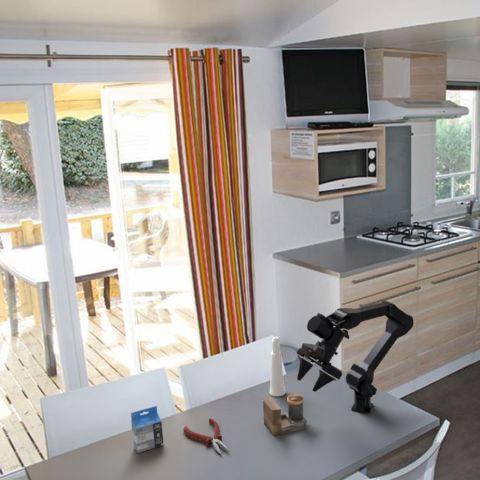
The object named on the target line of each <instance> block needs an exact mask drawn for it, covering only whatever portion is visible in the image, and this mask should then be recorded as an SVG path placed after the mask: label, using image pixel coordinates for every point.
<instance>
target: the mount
mask: <svg viewBox="0 0 480 480" xmlns="http://www.w3.org/2000/svg"><path fill="white" fill-rule="evenodd" d="M262 401H263V402H262V407H263V408H262V409H263V425H264V426H265V427H266V429H267V431H269V433H270V434H271V435H272V436H273V437H275V436H279V435H283V434H287V433H292V432H295V431H301V430H303V429H306V425H305V423H304V422H299V423H295V424H291V423H290V422H289V421H288V420H287V418H286V417H285V415H286V414H288V412H285V413H282V408H281V407H280V406H279V404H278V403H276V401H275V400H274V399H273V398H272V397H269V398H265V399H264V398H263V399H262Z"/></svg>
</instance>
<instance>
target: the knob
mask: <svg viewBox="0 0 480 480" xmlns="http://www.w3.org/2000/svg"><path fill="white" fill-rule="evenodd" d="M286 400H287V401H286V402H287V411H288V412H287V413H288V414H286V415H285V417H286V418H287V420H288V421H289V422H290V423H291V424H295V423H299V422H304V424H307V422H308V421H307V419H306V418H305V416H304V396H303V395H301V394H296V393H294V394H290V395H288V396H287V399H286Z"/></svg>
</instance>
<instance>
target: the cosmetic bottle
mask: <svg viewBox="0 0 480 480" xmlns="http://www.w3.org/2000/svg"><path fill="white" fill-rule="evenodd" d="M280 346H281V343H280V337H279V336H273V337H272V339H271V349H272V350H271V353H270V354H271V355H270V385H269V393H268V394H269V395H270V396H273V397H282V396H284V395H285V394H286V393H287V392H286V388H285V382H284V371H283V361H282V359H283V358H282V352H281V347H280Z"/></svg>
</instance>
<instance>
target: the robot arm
mask: <svg viewBox="0 0 480 480" xmlns="http://www.w3.org/2000/svg"><path fill="white" fill-rule="evenodd" d="M381 317H386V318H387V320H386V322H385V330H384V331H383V333H382V334H381V336H380V337H379V338H378V340H377V341H376V342H375V344H374V345H373V347H372V348H371V350H370V351H369V353H368V354H367V355H366V357H364V359H363V361H362V362H360V363H359V364H357V363H353V364H352V365H351V367H350V368H349V369H348V370H347V371H346V373H347V374H346V376H345V382H346V385H347V386H348V388H349V389H351V390H352V391H354V393H353V400H354V401H353V404H352V406H351V411H354V412H360V413H364V414H370V413H371V411H372V409H373V407H374V406H375V405H374V403H372V398H373V397H374V396H375V395H377V392H378V391H377V390H378V389H377V387H376V386H374V385H373V383H374V377H375V376H374V375H375V371H376V370H377V368H378V367H379V365H380V364H381V362H382V361H383V360H384V358H385V357H386V355H387V354H388V353H389V351H390V350H391V349H392V347H393V345H394V344H395V343H396V341H397V340H398V339H400V338H402V337H403V336H406V335H407V334H408V333H409V332H410V331H411V330H412V328H413V327H414V324H415V323H414V318H413V316H412V315H411V314H408V313H406V312H404V311H403V310H401V309H400V308H399V307H398V306H397V305H396V304H395V303H392V302H390V301H387V300H383V301H381V302H377V303H372V304H370V305H365V306H362V307H358V308H352V307H339V308H337V309H335V310H334V311H333V312H332V313H330V314H328V315H327V316H325V315H323V314H322V313H320V312H317V314H316V315H314V316H313V317H311V318H310V319H309V320H308V321H307V324H306V329H307V331H308V332H309V333H311V334H313V335H315V336H316V337H318V338H319V339H321V341H319V340H318V341H316V343H314V344H313V343H306V342H305V343H304V342H302V344H301V347H299V348H298V350H297V351H296V354H297V357H298V361H299V366H298V367H299V368H298V373H297V377H296V380H297V381H298V382H299V381H301V380H302V379H304V378H305V376H306V374H308V372H309V371H310V370H311V369H312V368H313V367H314V364H316V365H318V367H320V368H321V369H320V368H319V369H318V371H319V376H318V377H317V380H316V382H315V384H314V386H313V387H312V391H313V392H314V393H315V392H317V391H319V390H321V389H322V388H323V387H324V386H326V385H327V384H330V383H331V382H333V381H337V380H340V379H341V377H342V375H343V372H342V370H340V369H339V368H337V367H336V366H334V365H333V364H332V362H331V361H332V359H333V357H334V355H335V356H338V354H339V352H337V350H338V348H339V346H340V345H341V342H342V341H343V339H344V338H345V339H346V340H349V339H350V335H349V330H352V329H354V328H357V327H358V326H359V325H360V324H361V323H363V322H365V321H370V320H373V319H378V318H381ZM313 363H314V364H313Z"/></svg>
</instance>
